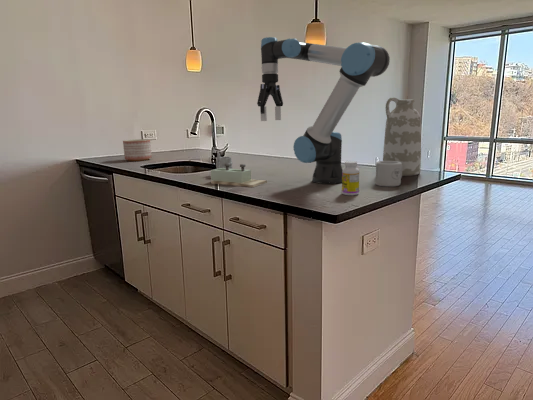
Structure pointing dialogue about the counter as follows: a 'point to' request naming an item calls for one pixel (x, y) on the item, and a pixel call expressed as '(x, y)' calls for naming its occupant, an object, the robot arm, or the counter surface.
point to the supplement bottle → (350, 179)
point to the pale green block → (230, 175)
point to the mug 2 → (388, 173)
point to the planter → (137, 149)
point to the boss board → (248, 184)
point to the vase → (403, 136)
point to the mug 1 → (223, 161)
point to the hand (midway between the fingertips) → (271, 120)
